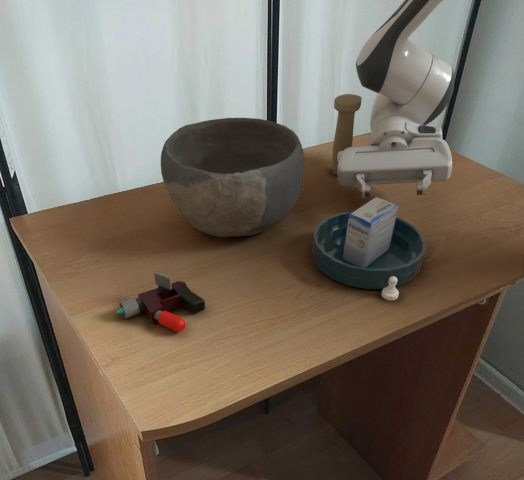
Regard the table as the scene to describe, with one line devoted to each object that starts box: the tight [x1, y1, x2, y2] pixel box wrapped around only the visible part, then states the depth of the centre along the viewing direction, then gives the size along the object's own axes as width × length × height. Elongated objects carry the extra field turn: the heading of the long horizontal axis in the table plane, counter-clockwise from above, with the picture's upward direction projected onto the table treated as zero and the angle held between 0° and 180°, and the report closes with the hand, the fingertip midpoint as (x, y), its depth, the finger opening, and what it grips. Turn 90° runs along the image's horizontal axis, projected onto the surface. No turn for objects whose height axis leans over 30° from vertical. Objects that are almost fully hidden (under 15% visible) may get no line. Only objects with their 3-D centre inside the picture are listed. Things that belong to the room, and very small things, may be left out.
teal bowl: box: [311, 210, 427, 290], centre depth 89 cm, size 18×18×4 cm
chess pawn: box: [381, 276, 400, 301], centre depth 82 cm, size 3×3×4 cm
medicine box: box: [343, 196, 399, 268], centre depth 88 cm, size 8×4×9 cm, turn 139°
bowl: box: [160, 117, 305, 238], centre depth 94 cm, size 24×24×15 cm
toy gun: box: [115, 271, 206, 333], centre depth 77 cm, size 10×12×5 cm
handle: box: [331, 93, 363, 176], centre depth 109 cm, size 5×6×15 cm
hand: (393, 193), depth 94 cm, fingers open, 8 cm apart
